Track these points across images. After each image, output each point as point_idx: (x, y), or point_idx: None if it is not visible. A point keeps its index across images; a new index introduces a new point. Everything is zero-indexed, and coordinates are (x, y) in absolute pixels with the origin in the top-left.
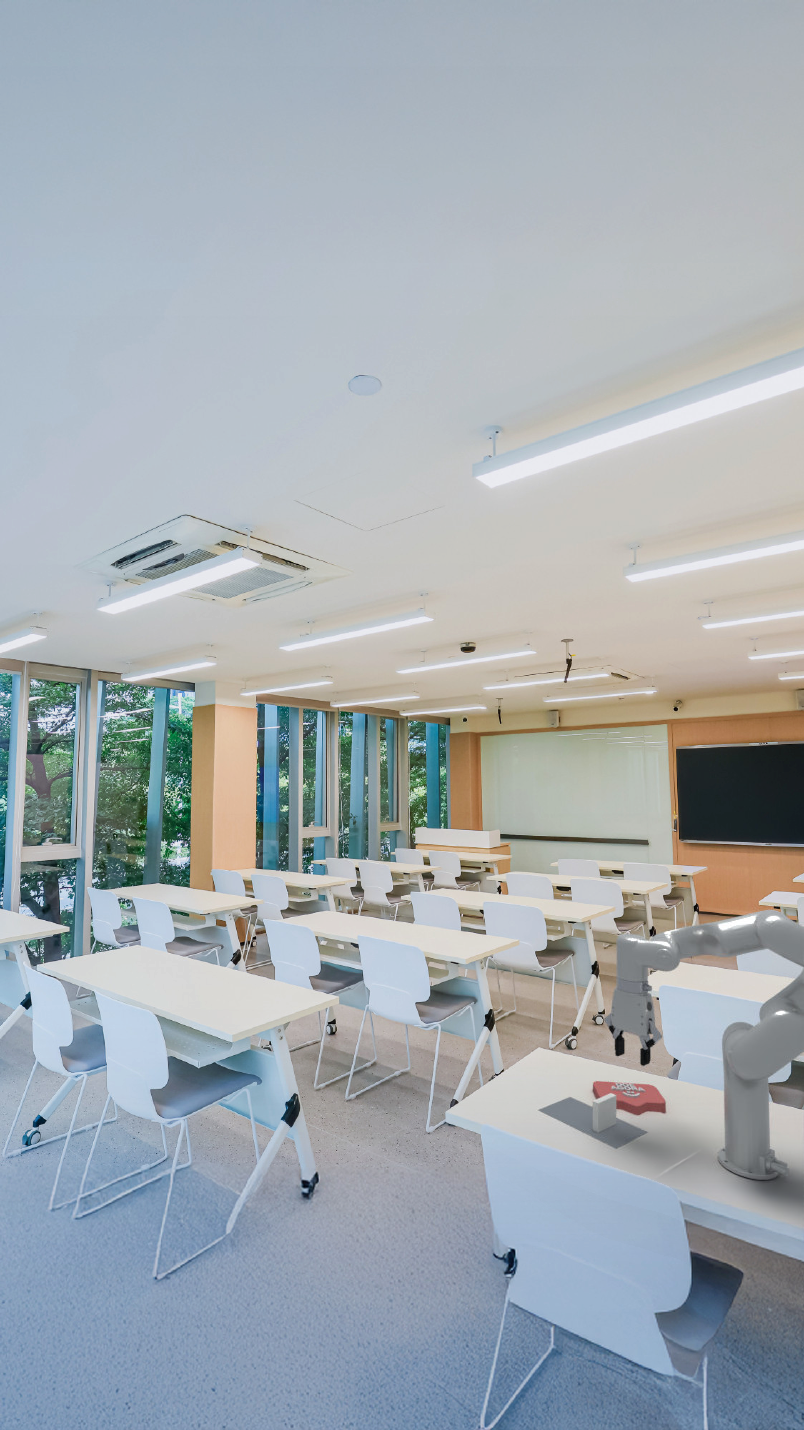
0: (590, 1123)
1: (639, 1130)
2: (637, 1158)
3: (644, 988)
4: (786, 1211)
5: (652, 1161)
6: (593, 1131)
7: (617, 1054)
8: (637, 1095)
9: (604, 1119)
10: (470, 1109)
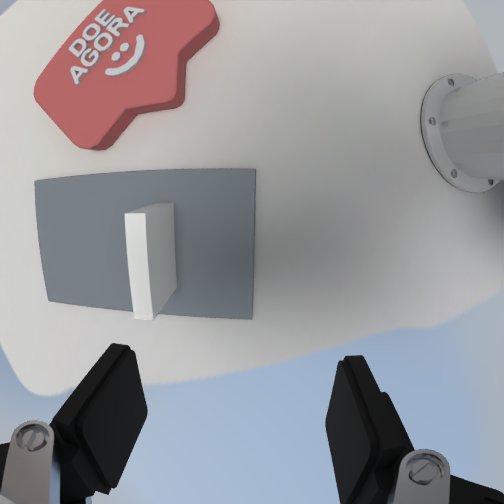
0: None
1: (235, 181)
2: (303, 306)
3: None
4: None
5: (333, 289)
6: None
7: (140, 418)
8: (143, 49)
9: (168, 267)
10: (22, 373)
